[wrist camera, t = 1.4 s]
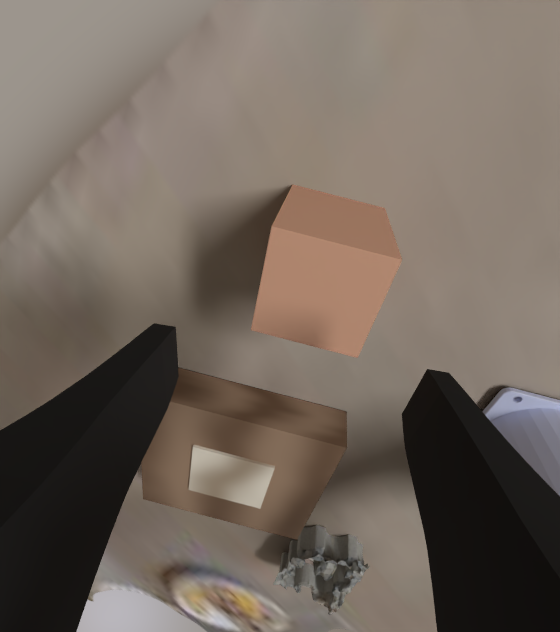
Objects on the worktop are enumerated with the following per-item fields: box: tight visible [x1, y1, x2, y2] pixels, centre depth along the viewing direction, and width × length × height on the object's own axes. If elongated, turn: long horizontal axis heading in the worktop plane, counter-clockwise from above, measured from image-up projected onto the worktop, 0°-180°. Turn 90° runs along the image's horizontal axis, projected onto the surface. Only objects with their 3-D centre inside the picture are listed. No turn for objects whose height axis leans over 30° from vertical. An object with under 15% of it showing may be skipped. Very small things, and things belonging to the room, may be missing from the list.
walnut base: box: [141, 368, 347, 540], centre depth 28 cm, size 14×14×3 cm
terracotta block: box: [251, 185, 402, 358], centre depth 16 cm, size 5×5×6 cm
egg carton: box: [274, 525, 369, 615], centre depth 36 cm, size 11×8×4 cm
